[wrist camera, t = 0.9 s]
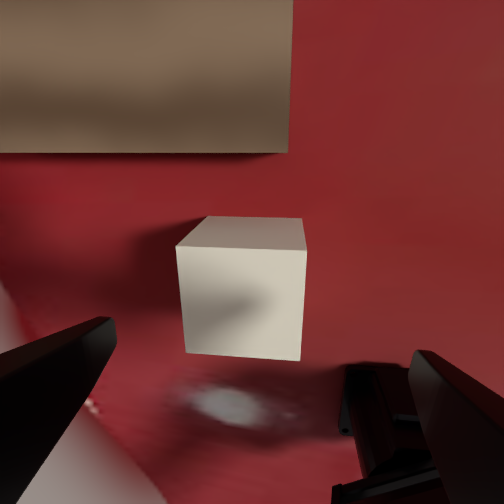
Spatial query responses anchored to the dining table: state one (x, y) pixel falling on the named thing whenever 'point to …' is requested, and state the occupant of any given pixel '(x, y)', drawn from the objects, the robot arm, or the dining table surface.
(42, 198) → the dining table surface
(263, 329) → the cream cube
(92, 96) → the walnut base
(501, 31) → the dining table surface
